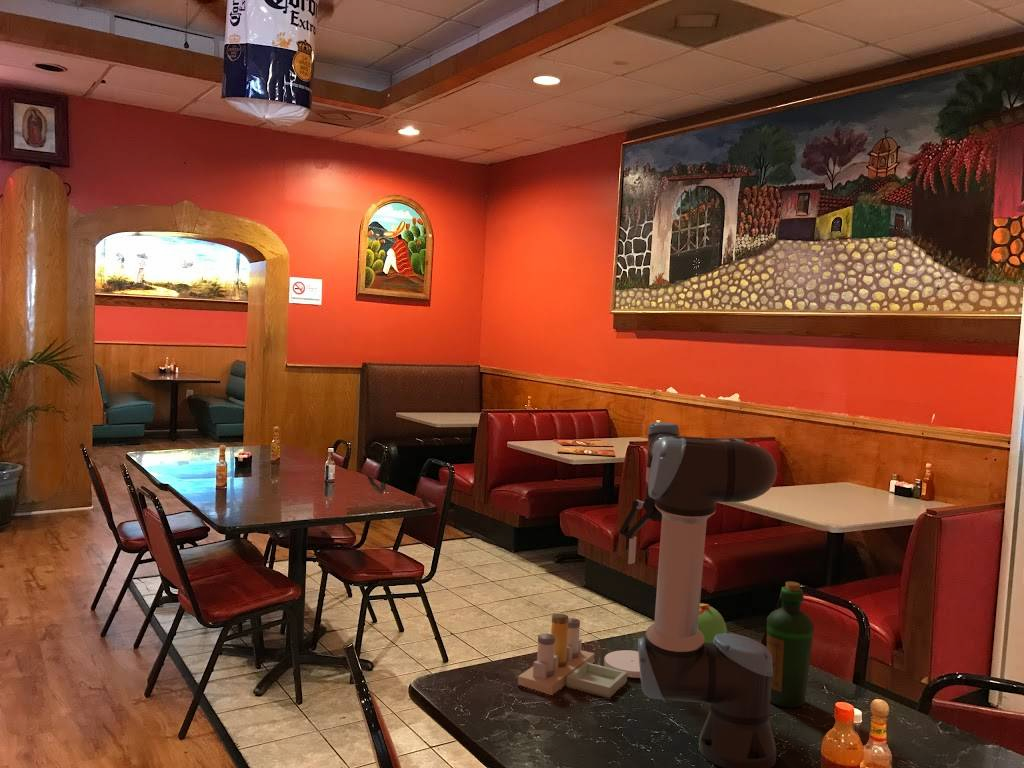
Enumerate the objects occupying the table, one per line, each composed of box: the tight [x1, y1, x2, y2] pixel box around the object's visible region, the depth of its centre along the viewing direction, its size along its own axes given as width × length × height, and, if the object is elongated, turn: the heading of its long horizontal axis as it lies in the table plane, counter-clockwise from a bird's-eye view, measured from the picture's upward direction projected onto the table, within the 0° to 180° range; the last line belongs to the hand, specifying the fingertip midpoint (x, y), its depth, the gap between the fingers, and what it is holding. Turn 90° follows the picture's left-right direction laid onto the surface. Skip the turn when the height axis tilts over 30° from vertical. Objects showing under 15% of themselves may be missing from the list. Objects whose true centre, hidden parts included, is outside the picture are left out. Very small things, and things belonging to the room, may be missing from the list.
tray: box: [565, 662, 628, 699], centre depth 202 cm, size 11×11×2 cm
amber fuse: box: [550, 613, 569, 668], centre depth 207 cm, size 4×4×12 cm
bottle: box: [766, 581, 815, 709], centre depth 196 cm, size 11×11×28 cm
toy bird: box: [698, 602, 728, 643], centre depth 223 cm, size 18×17×15 cm
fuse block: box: [517, 617, 596, 696], centre depth 207 cm, size 24×9×12 cm, turn 150°
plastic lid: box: [603, 649, 641, 679], centre depth 213 cm, size 14×14×2 cm
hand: (656, 567), depth 212 cm, fingers open, 13 cm apart
